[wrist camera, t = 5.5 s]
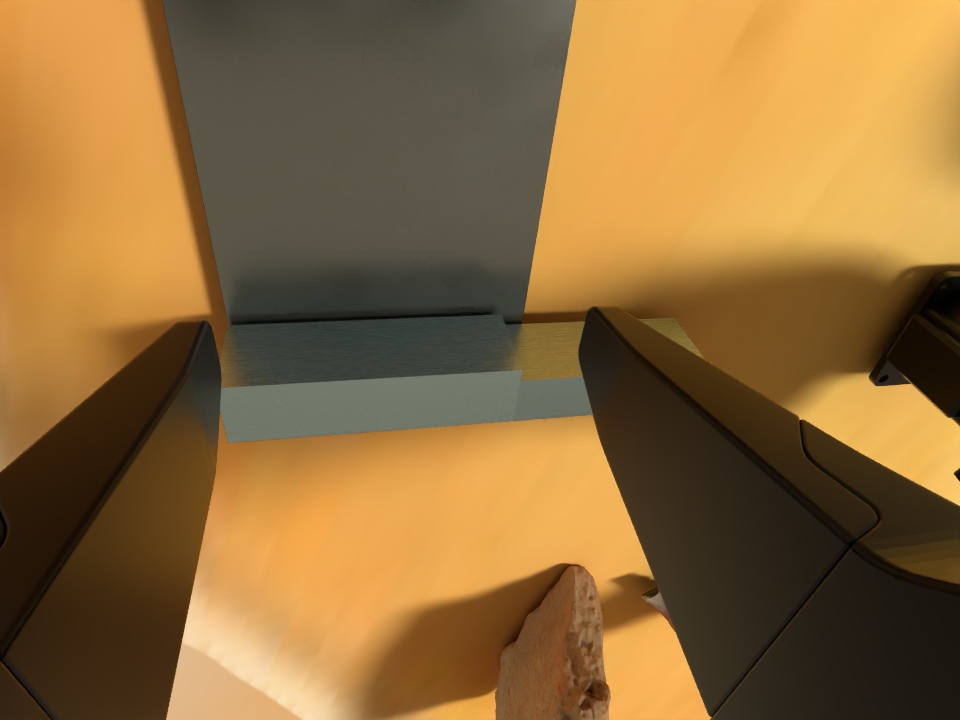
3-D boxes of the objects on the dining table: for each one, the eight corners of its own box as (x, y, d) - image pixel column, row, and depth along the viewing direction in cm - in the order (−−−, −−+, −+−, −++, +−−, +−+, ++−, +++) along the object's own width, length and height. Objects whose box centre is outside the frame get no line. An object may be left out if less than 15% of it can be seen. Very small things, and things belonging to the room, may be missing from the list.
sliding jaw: (678, 307, 26) (716, 358, 23) (661, 354, 27) (695, 406, 25) (226, 325, 22) (214, 388, 19) (237, 378, 23) (227, 442, 21)
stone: (598, 557, 40) (542, 550, 39) (637, 711, 32) (567, 706, 31) (519, 705, 50) (473, 702, 49) (534, 851, 42) (479, 849, 41)
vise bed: (593, -151, 16) (601, -150, 16) (514, 339, 26) (517, 348, 26) (126, -209, 14) (119, -210, 13) (237, 353, 24) (235, 363, 23)
